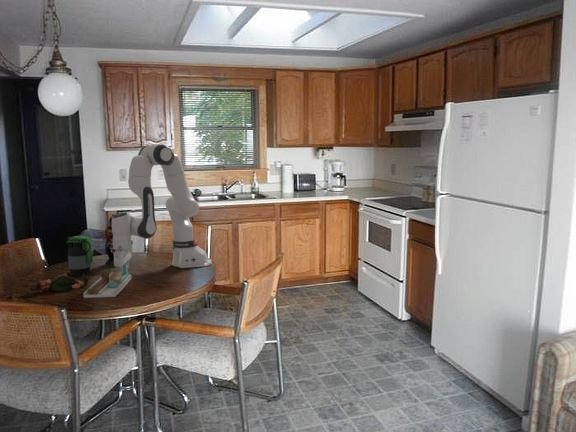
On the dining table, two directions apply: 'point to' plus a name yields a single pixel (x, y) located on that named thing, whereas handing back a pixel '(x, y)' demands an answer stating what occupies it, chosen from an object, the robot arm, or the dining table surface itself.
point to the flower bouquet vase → (110, 244)
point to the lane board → (107, 289)
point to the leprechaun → (58, 283)
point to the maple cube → (115, 277)
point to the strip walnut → (100, 282)
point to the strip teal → (124, 276)
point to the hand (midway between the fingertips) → (123, 270)
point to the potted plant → (79, 254)
